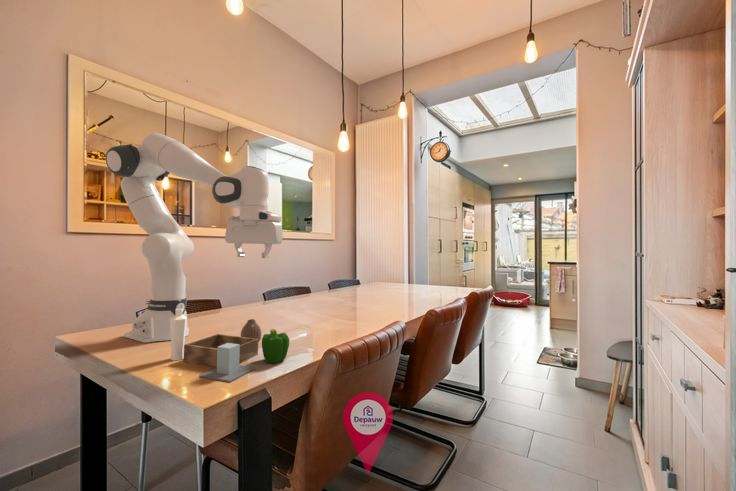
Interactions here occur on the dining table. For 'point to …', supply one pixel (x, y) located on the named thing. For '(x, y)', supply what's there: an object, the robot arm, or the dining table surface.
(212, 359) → the walnut crate
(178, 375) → the dining table surface
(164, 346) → the dining table surface
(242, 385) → the dining table surface
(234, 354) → the block
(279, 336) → the bell pepper
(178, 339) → the perfume bottle
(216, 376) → the pad
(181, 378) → the dining table surface
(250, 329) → the vase
